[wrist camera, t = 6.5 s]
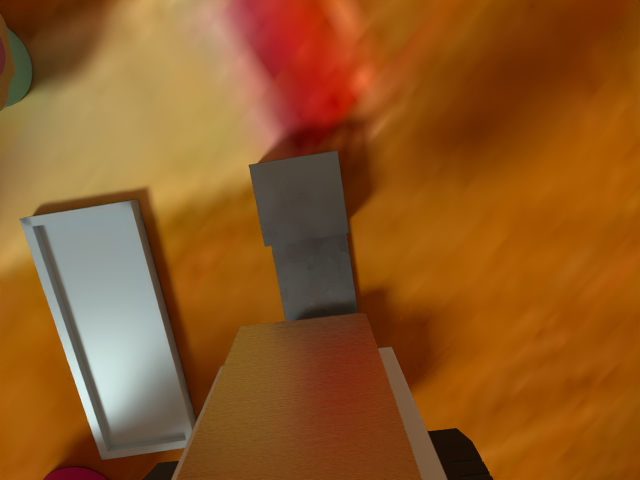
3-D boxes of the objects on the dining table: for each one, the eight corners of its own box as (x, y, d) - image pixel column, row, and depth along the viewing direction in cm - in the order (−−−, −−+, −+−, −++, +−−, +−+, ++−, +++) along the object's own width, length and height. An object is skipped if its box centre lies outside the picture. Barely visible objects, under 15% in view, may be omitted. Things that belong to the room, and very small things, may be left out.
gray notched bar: (382, 486, 29) (390, 523, 26) (320, 495, 30) (320, 533, 27) (334, 151, 24) (337, 150, 21) (256, 163, 24) (248, 164, 21)
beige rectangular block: (376, 421, 14) (434, 666, 7) (258, 434, 14) (209, 691, 7) (366, 312, 13) (422, 481, 6) (239, 326, 13) (163, 510, 6)
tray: (200, 435, 28) (196, 445, 27) (109, 449, 28) (101, 460, 27) (137, 199, 24) (130, 201, 23) (31, 216, 24) (19, 218, 23)
